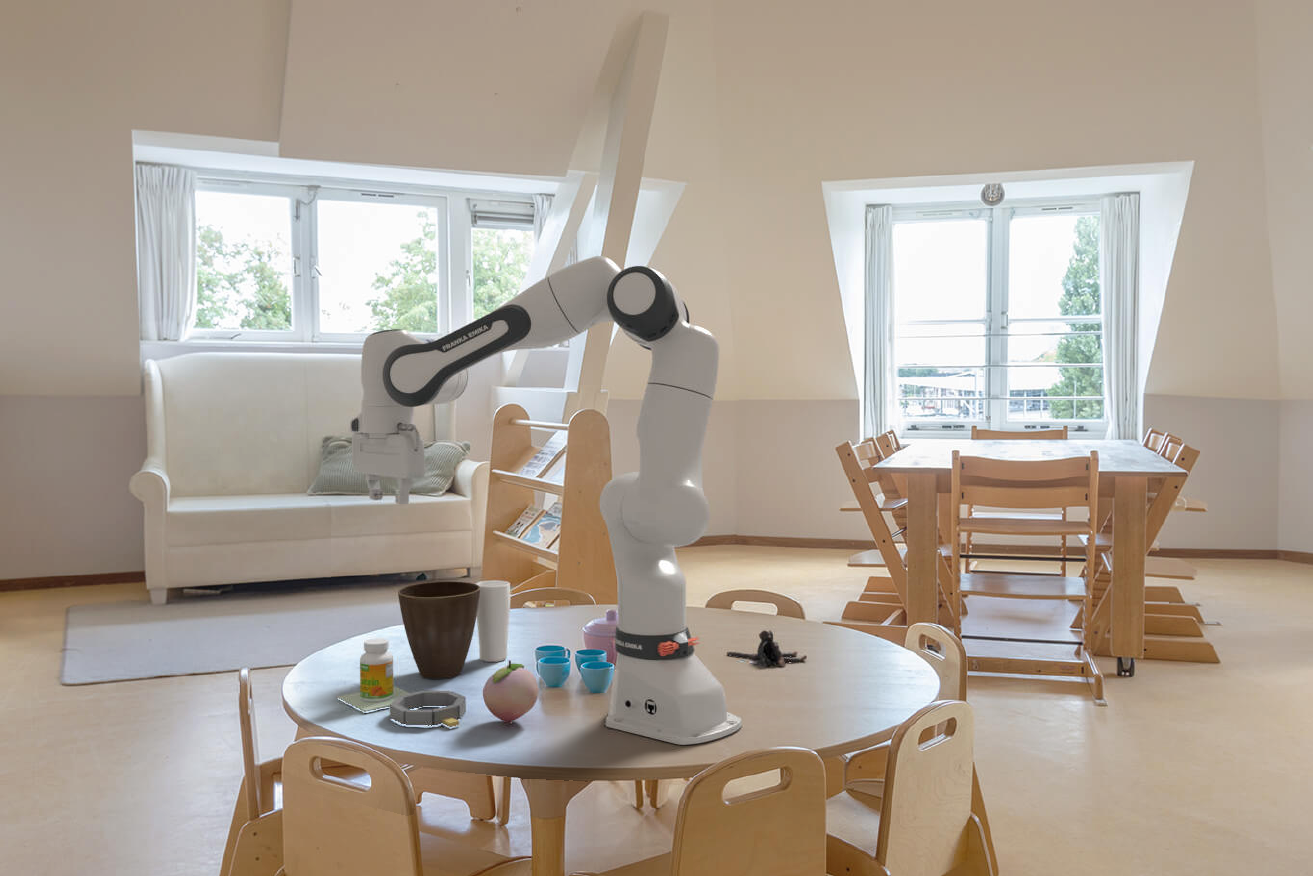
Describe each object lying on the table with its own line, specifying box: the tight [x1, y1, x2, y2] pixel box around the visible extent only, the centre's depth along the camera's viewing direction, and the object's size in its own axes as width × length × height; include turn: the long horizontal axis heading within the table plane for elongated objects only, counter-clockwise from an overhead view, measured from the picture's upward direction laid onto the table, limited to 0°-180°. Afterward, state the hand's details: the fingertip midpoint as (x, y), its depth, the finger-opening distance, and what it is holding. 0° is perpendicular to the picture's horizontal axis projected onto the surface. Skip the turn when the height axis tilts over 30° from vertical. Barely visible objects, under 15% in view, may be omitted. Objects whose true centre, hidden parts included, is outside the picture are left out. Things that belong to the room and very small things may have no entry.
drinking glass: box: [475, 579, 511, 663], centre depth 194 cm, size 7×7×15 cm
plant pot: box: [397, 580, 480, 680], centre depth 183 cm, size 15×15×16 cm
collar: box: [389, 690, 467, 727], centre depth 159 cm, size 16×11×2 cm
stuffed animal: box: [726, 629, 808, 668], centre depth 194 cm, size 12×10×12 cm
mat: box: [337, 685, 410, 712], centre depth 168 cm, size 10×10×1 cm
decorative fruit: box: [482, 660, 539, 724], centre depth 156 cm, size 9×8×10 cm
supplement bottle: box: [359, 637, 394, 702], centre depth 167 cm, size 5×5×10 cm
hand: (388, 501), depth 173 cm, fingers open, 8 cm apart
